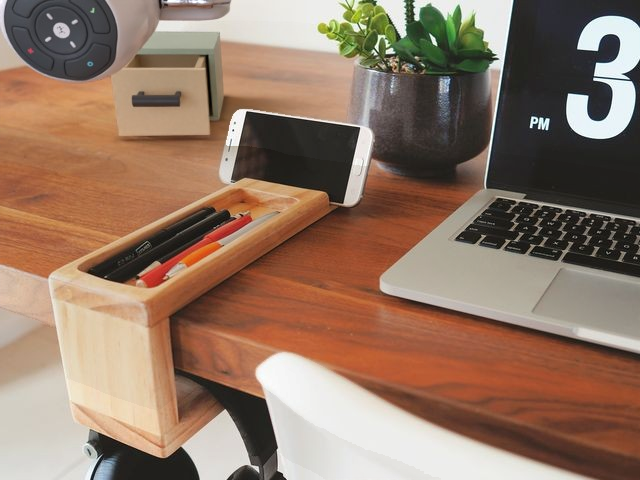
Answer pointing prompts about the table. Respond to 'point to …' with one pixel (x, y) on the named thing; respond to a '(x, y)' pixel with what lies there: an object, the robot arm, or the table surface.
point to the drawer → (162, 95)
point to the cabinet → (193, 46)
